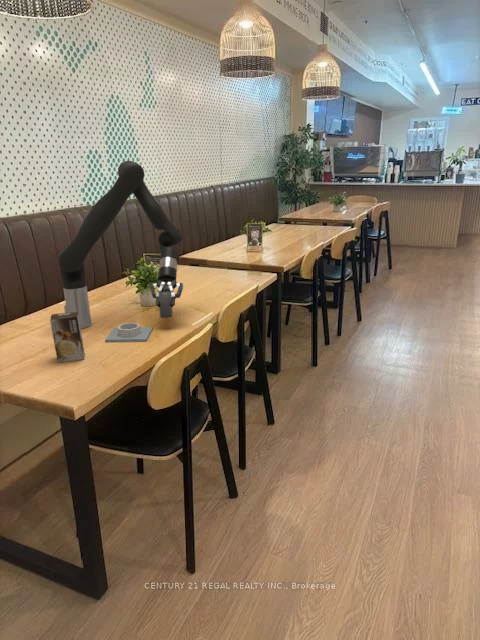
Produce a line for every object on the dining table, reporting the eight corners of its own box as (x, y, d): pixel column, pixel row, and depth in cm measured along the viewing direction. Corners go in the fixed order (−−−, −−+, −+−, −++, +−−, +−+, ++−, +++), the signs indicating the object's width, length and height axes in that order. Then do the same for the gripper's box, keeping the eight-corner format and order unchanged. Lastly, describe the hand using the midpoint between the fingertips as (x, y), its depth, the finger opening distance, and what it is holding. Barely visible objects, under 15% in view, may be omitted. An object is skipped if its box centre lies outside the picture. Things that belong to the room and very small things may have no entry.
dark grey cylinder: (159, 318, 187) (157, 294, 184) (161, 314, 192) (159, 291, 189) (171, 318, 187) (170, 294, 184) (173, 314, 192) (171, 290, 189)
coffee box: (85, 353, 168) (79, 311, 163) (84, 359, 162) (78, 316, 157) (58, 356, 166) (51, 313, 161) (56, 363, 160) (49, 319, 155)
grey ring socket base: (105, 342, 178) (103, 332, 176) (114, 330, 190) (112, 321, 189) (146, 341, 178) (145, 331, 176) (152, 329, 190) (151, 320, 189)
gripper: (149, 265, 191) (145, 302, 183) (183, 265, 191) (181, 301, 183) (152, 275, 197) (149, 310, 190) (185, 274, 197) (184, 310, 190)
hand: (165, 306), depth 187 cm, fingers closed on dark grey cylinder, 5 cm apart
